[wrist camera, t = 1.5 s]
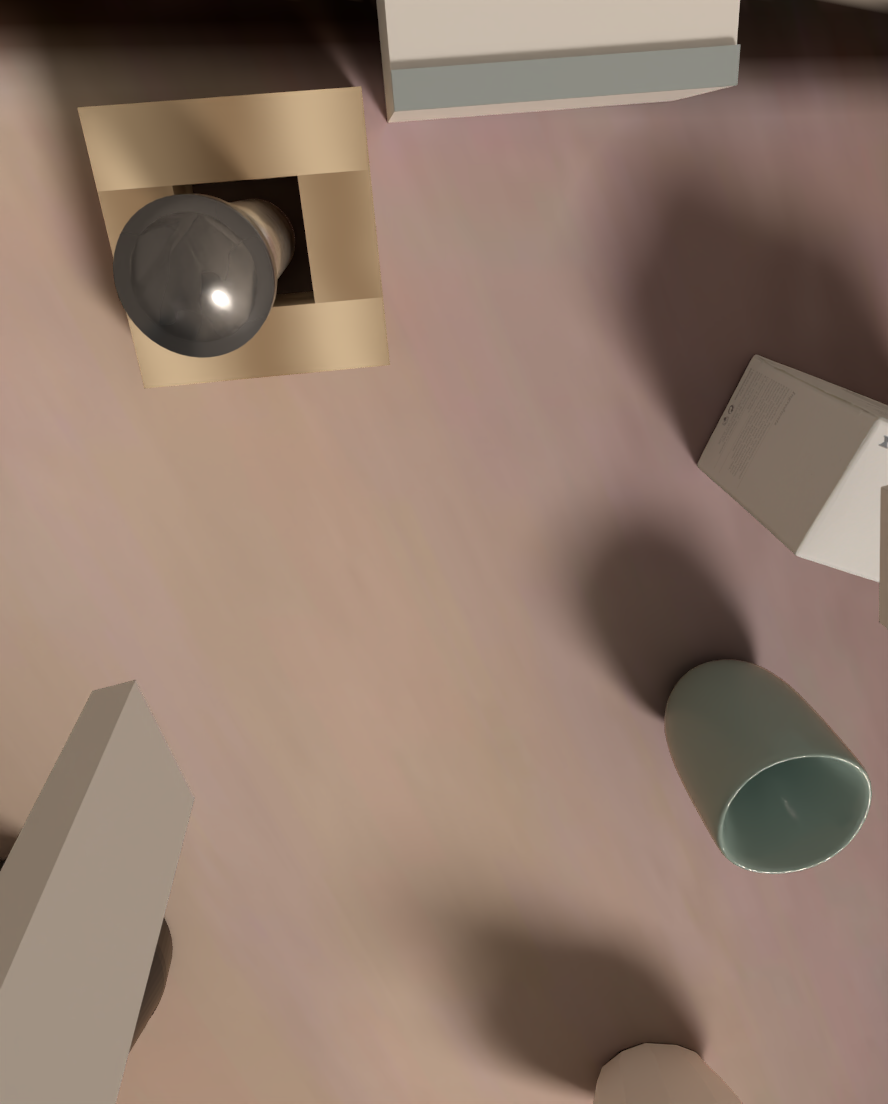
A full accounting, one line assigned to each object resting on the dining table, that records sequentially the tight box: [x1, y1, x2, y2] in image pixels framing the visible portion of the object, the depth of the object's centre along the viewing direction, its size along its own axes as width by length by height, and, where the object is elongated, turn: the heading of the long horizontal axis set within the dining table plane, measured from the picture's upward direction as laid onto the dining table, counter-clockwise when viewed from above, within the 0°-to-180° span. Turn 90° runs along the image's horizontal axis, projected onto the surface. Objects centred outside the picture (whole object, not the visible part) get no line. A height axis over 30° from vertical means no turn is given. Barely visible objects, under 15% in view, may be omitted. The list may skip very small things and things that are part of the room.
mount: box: [77, 87, 390, 389], centre depth 32 cm, size 10×10×4 cm
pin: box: [113, 194, 296, 358], centre depth 27 cm, size 4×4×15 cm
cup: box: [664, 659, 872, 874], centre depth 42 cm, size 8×8×10 cm
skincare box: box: [697, 355, 888, 582], centre depth 36 cm, size 10×6×10 cm, turn 70°
